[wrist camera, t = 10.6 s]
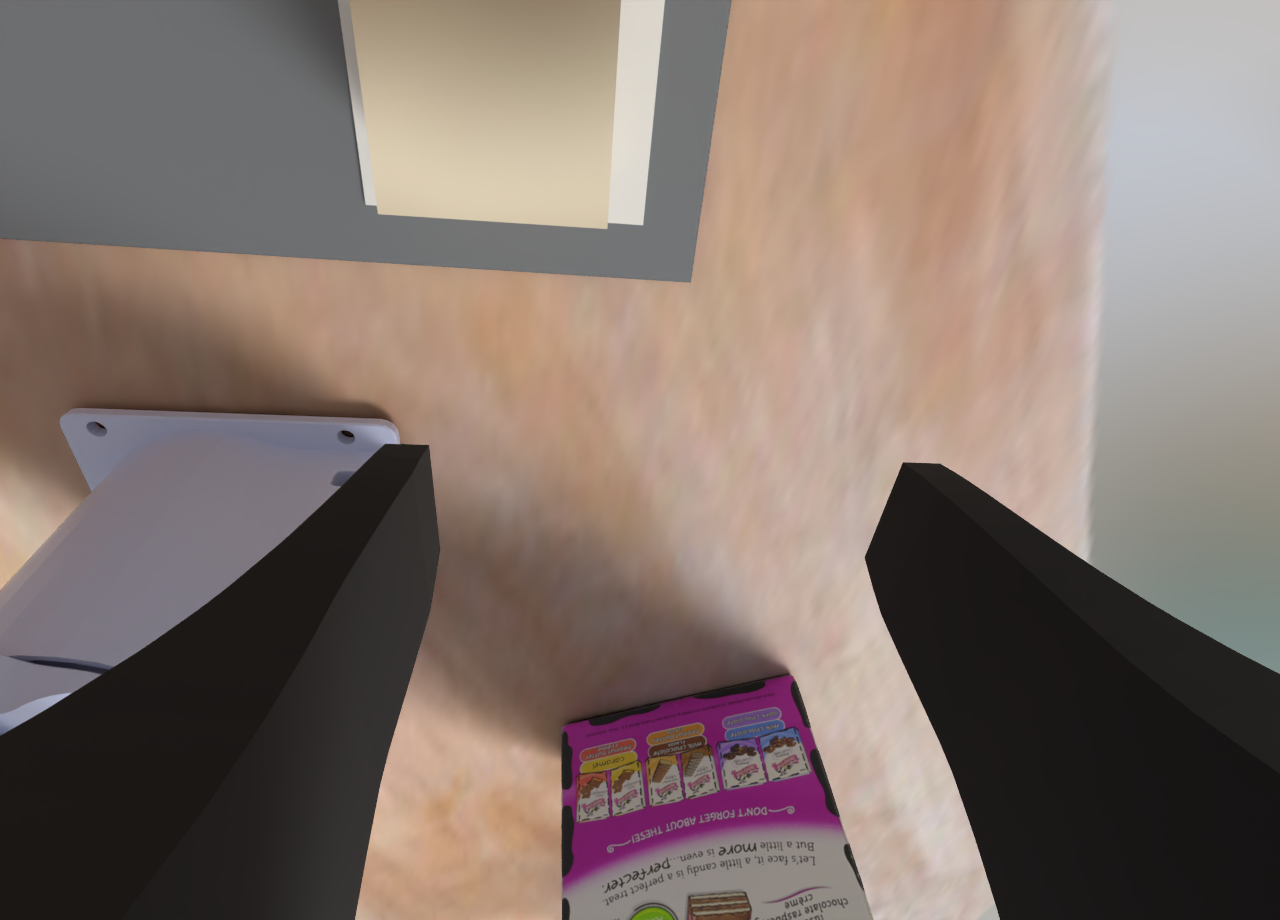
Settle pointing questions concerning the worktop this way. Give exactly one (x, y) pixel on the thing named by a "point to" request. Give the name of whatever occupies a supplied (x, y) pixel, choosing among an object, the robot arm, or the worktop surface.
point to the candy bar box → (704, 813)
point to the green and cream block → (490, 107)
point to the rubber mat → (312, 138)
